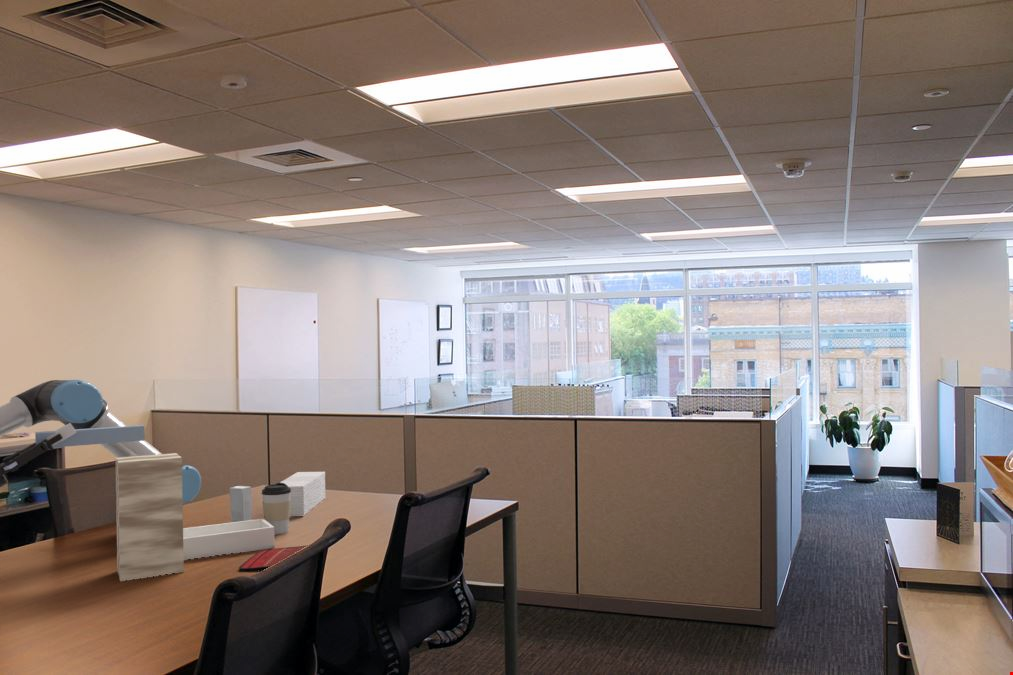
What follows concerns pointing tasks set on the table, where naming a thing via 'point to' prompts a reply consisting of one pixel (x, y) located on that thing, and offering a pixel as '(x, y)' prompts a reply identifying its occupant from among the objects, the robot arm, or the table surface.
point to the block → (98, 435)
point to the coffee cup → (277, 506)
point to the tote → (227, 538)
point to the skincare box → (240, 503)
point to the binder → (268, 558)
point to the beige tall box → (149, 516)
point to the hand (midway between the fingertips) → (73, 427)
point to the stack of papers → (305, 491)
